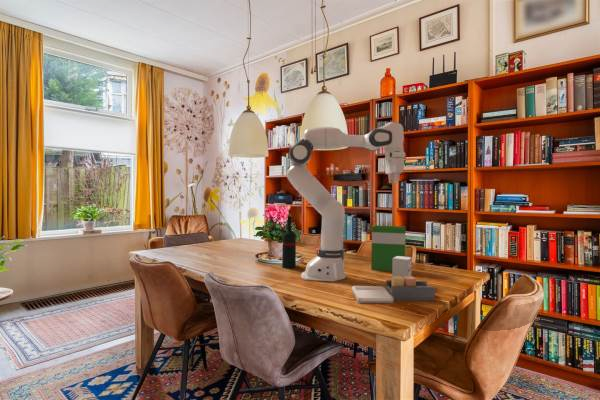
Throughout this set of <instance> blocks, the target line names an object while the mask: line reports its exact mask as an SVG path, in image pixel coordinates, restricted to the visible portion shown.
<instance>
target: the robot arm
mask: <svg viewBox="0 0 600 400" xmlns="http://www.w3.org/2000/svg"><path fill="white" fill-rule="evenodd" d="M404 135H405V134H404V126H403V125H402V124H401V123H399V122H396V121H390V122H389V121H388V122H386V123H385V124H384V125H383V126H380V127H377V128H374V129H372V130H371V131H369V132H368V133H366V134H347V133H345V132H343V131H342V130H341V129H340V128H338V127H333V126H332V127H331V126H317V127H311V128H307V129H305V130H304V132H303V134H302V139H300V140H298V141H296V142H295V143H293V144H292V145H291V146H290V148H289V152H288V158H289V160H290V163H291V166H290V167H289V168H288V169H287V170H286V178H287V180H288V182H289V183H290V185H292V187H293V188H294V189H295V190H296V191H297V192H298V193H299V194H300V195H301V196H302V197H303V198H304V199H305V201H306V202H308V203H309V204H310V205H311V206H312V207H313V208H314V210H316V211H317V213H318V214H320V215H321V230H320V248H318V247H317V248H316V249H315V252H316V256H315V257H314V258H312V259H311V260H310V261H309V262H307V264H306V267H305V270H304V271H302V272H301V275H300V277H301V279H302V280H305V281H321V282H337V281H340V280H343V279H344V280H345V279H346V277H347V276H346V273H345V267H344V266H345V265H344V258H345V250H344V228H345V213H346V212H345V211H346V210H345V207H344V205H343V203H342V202H340V201H338V200H337V199H336V198H335V197H334V196H333V195H332V193H330V192H329V190H328V189H326V187H325V186H324V185H323V184H322V183H321V182H320V181H319V180H318V179H317V178H316V177H315V176H314V175H313V174H312V173H311V172H310V171H309V170H308V167H307V165H308V163H309V162H310V160H311V158H312V154H313V151H316V150H334V149H335V150H336V149H340V148H346V147H347V148H362V149H364V150H367V151H369V152H375V151H376V152H377V151H379V150H380V149H381V148H385V149H384V151H385V152H384V155H385V156H384V159H385V160H386V162H385V175H388V183H389V184H392V183H395V184H396V183H399V182H400V180H399V178H400V174H403V172H404V167H405V158H406V152H405V151H404V145H403V144H404V141H405V139H404V138H405V137H404Z"/></svg>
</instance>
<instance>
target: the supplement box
mask: <svg viewBox="0 0 600 400" xmlns="http://www.w3.org/2000/svg"><path fill="white" fill-rule="evenodd" d="M412 260H413V259H412V257H411V256H405V257H403V256H396V257H394V258H393V263H392V271H391V272H392V273H391V274H392V275H391V277H392V276H401V277H402V278H403V276H409V277H412Z"/></svg>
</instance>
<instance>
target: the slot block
mask: <svg viewBox="0 0 600 400" xmlns="http://www.w3.org/2000/svg"><path fill="white" fill-rule="evenodd" d="M385 288H386V290H387V291H388V292H389V293H390V294H391V295H392V297H393V298H394V302H395V301H396V302H397V301H400V302H401V301H404V302H407V301H409V302H413V301H414V302H435V296H436V294H435V293H436V288H435V286H434V285H433V286H432V285H431V286H429V285H428V281H427V280H416V286H391V279H388V280H387V279H386V281H385Z"/></svg>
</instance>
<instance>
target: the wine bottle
mask: <svg viewBox="0 0 600 400" xmlns="http://www.w3.org/2000/svg"><path fill="white" fill-rule="evenodd" d="M286 219H287V222H286V223H287V224H286V225H287V230H286V231H284V233H283V234H282V249H281V250H282V254H281V256H282V257H281V262H282V263H281V264H282V265H281V266H282V268H283V269H289V270H291V269H296V267H297V265H296V263H297V262H296V261H297V260H296V258H297V257H296V256H297V253H296V251H297V240H296V239H297V238H296V237H297V236H296V233H295V232H294V231H293V230H292V214H291V213H290V214H289V213H287V218H286Z"/></svg>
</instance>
